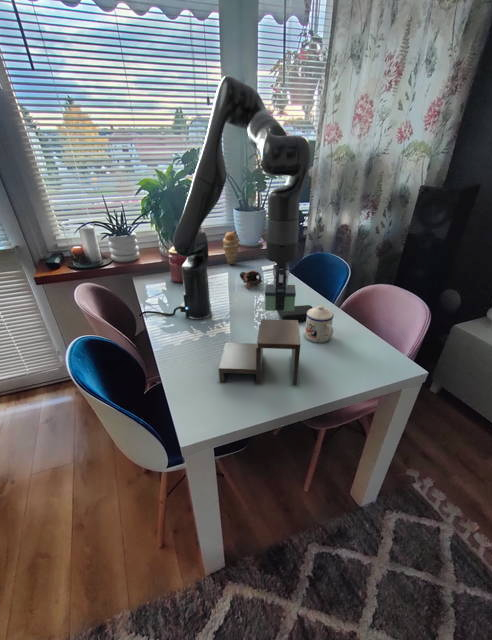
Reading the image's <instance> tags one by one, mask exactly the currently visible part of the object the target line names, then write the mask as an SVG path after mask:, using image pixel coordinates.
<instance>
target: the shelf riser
mask: <svg viewBox="0 0 492 640" xmlns="http://www.w3.org/2000/svg"><path fill="white" fill-rule="evenodd" d="M299 326H300V324H299V321H298V320H282V319H270V318H267V319H266V318H261V319H260V323H259V324H258V328H257V337H256V338H257V339H256V343H250V342H249V343H248V342H243V343H242V342H225V343H224V347H223V351H222V355H221V358H220V362H219V366H218V378H219V384H220V383H222V384H223V383H225V379H226V376H227V374H246V375H255V384H256V385H261V383H262V382H261V381H262V371H263V360H264V349H270V350H271V349H273V350H275V349H276V350H291V358H290V359H291V379H292V381H291V382H292V386H298V378H299V365H300V356H301V355H300V354H301V336H300V327H299Z"/></svg>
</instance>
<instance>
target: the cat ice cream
mask: <svg viewBox="0 0 492 640" xmlns="http://www.w3.org/2000/svg"><path fill="white" fill-rule="evenodd" d="M239 243H240V240H239V238H237V236H236V230H233V231H228V230H226V229H225V235H224V238H223V239H222V244H223V246H222V247H223V250H224V254H225V259H226V261H227V263H228V264H229V265H233V264H235V263H236V262H237V260H236V259H237V258H238V253H239V247H240V246H239Z"/></svg>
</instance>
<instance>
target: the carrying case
mask: <svg viewBox="0 0 492 640" xmlns="http://www.w3.org/2000/svg"><path fill="white" fill-rule="evenodd" d="M312 308H314V307H313V306H312V305H310V304H305V305H295V306H294V311H276V312H277V315H278V316H279V318H280V320H298V322H303V321H306V320H307V315H306V313H307V311H308V310H310V309H312Z"/></svg>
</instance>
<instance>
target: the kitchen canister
mask: <svg viewBox="0 0 492 640" xmlns="http://www.w3.org/2000/svg"><path fill="white" fill-rule="evenodd" d="M168 252H169V253H168V254H167V257H168V259H169V260H168V264H169V272H170V278H171V280H172V281H173V282H176V283H183V276H182V265H183V263H184V262H185V261H186V259H187V257H183V256H180V255H179V254H177V252H176V251H175V249H174V245H172V247H171V248H169V249H168Z"/></svg>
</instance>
